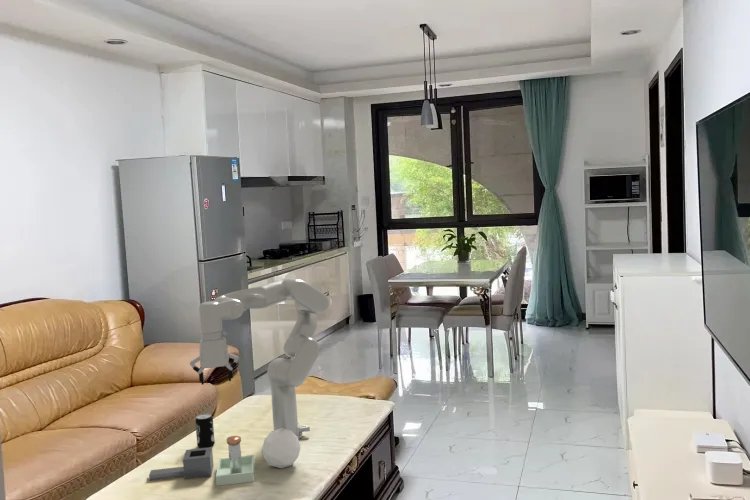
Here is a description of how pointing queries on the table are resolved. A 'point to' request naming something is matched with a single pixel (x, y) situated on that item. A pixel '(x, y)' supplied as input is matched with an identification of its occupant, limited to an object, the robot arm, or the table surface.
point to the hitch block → (189, 466)
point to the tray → (246, 476)
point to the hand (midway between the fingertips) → (216, 381)
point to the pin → (234, 454)
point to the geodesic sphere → (281, 448)
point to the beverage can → (204, 431)
